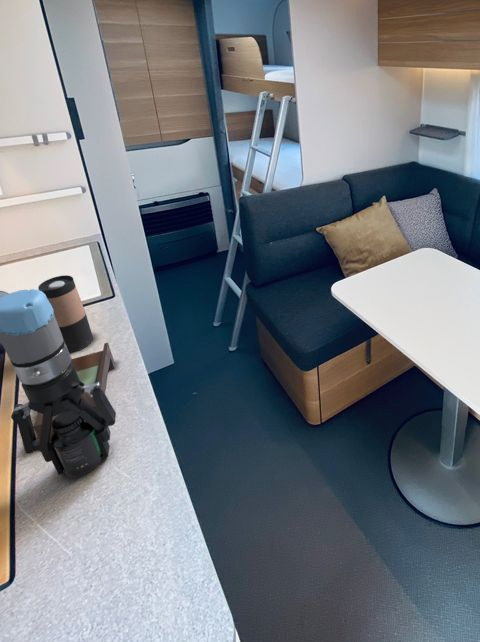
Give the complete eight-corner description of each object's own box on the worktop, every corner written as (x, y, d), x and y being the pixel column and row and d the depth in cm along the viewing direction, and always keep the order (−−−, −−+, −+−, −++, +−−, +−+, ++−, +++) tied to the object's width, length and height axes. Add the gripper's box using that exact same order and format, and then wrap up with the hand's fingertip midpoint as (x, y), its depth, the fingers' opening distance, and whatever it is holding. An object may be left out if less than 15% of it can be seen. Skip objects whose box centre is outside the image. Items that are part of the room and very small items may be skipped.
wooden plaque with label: (41, 443, 86) (29, 419, 83) (60, 379, 103) (51, 357, 100) (107, 421, 91) (98, 397, 88) (115, 363, 107) (107, 342, 105)
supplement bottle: (113, 450, 84) (96, 407, 80) (83, 482, 78) (63, 437, 74) (87, 442, 86) (69, 400, 81) (56, 473, 80) (35, 429, 75)
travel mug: (55, 349, 113) (30, 287, 105) (82, 332, 120) (60, 272, 112) (74, 355, 110) (49, 293, 103) (100, 338, 117) (79, 277, 109)
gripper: (-33, 407, 66) (17, 500, 75) (109, 366, 74) (139, 454, 83) (-17, 376, 72) (28, 465, 81) (112, 341, 80) (141, 425, 89)
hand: (84, 459), depth 82 cm, fingers closed on supplement bottle, 7 cm apart
